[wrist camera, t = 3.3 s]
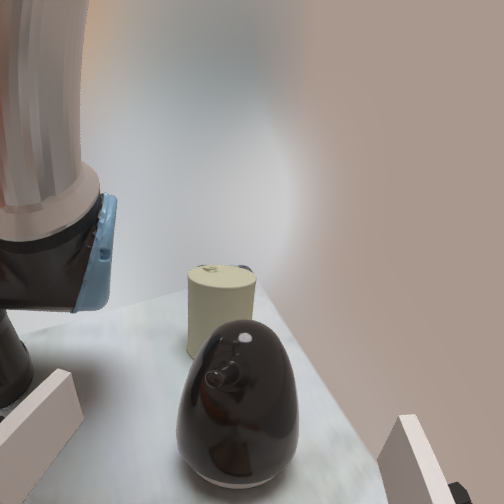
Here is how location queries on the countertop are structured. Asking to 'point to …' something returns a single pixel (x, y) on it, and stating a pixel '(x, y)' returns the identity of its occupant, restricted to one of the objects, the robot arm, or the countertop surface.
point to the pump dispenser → (239, 407)
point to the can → (217, 300)
